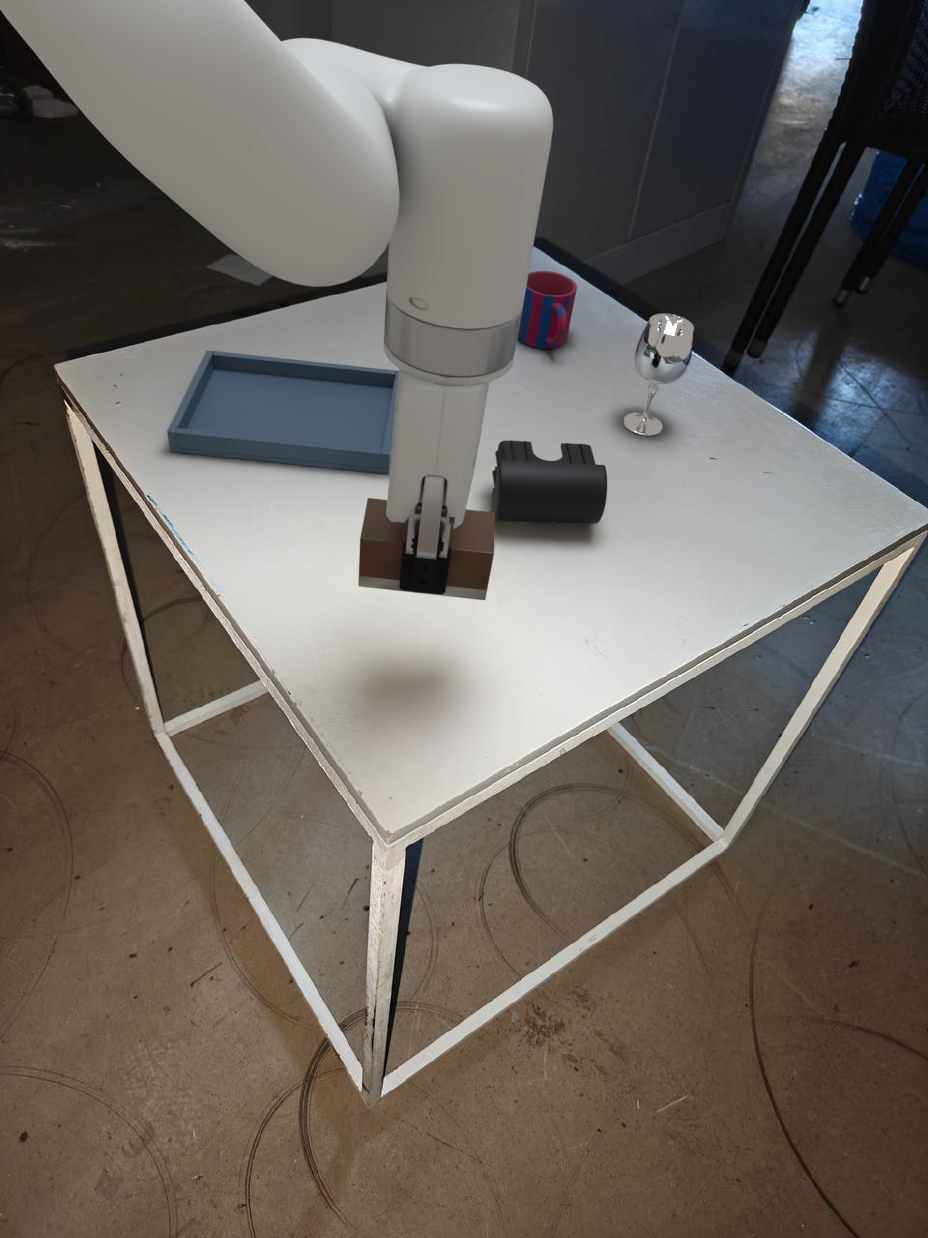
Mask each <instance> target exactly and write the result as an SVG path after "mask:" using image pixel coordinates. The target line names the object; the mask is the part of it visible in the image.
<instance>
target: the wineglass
mask: <svg viewBox="0 0 928 1238" xmlns="http://www.w3.org/2000/svg"><path fill="white" fill-rule="evenodd" d="M694 340H695V326H694V324H693V322H691V321H689V320H688V319H687V318H685V317H682V316H680V315H676V314H672V313H656V314H654V315H652V316H651V317H650V318H649V319H648V320H647V323H646V324H645V326H644V328H643V330H642V332H641V334H640V336H639V339H638V342H637V344H636V347H635V351H634V366H635V369H636V371H637V373H638V374H639V375H640V377H642V378H643V379H644V380H646V381H648V382H650V383H649V385H648V387H647V388H648V390H647V401H646V405H645V408H644V411H643V412H641V411H639V412H637V411H635V412H630V413H628V414H626V415H625V416H624V417H623V420H622V423H623V425H624V427H625V428H626V429H627V430H629V431H630V432H632V433H634V434H637V435H640V436H643V437H646V436H647V437H650V436H651V437H652V436H656V435H658V434H660V433H661V432H663V431H662V430H663V423H662V421H661V420H660V419H658V418H657V417H656V416H654V415H652V414H650V413H649V412H650V408H651V405H652V401H653V399H654V397H655V396H656V394H657V392H658V390H659V385H667V384H671V383H674V382H676V381H678V380H680V378H681V377H683V376H684V374H685V373H686V371H687V369H688V367H689V366H690V363H691V361H692V355H693V349H694V343H695V342H694Z"/></svg>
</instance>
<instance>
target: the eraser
mask: <svg viewBox="0 0 928 1238" xmlns="http://www.w3.org/2000/svg"><path fill="white" fill-rule="evenodd" d="M417 506H422V504H417ZM442 509H447V507H442ZM386 510H387V499H381V498H373V497H368V498H367V500H366V506H365V511H364V516H363V522H362V527H361V532H360V536H359V559H358V582H357V583H358V584H357V585H358V587H361V588H368V589H379V590H388V591H397V592H406V593H412V592H411V591H404V590H401V589H400V587H399V584H400V572H401V560H402V549H403V542H407V532H408V521H409V517H408V519H407V520H406V521H405V523H401V522H391V521H390V520H389V518H388V517H387V515H386ZM442 527H443V525H441V524H440V528H439V537H441V536H442ZM419 528H420V522H417V524H416V534H419ZM495 531H496V520H495V513H494V512H491V511H483V510H475V509H467V508H466V510H465V515H464V519H463V523H462V524H461V525H459V526H458V527H457V528H455V529H453V525H451V530H450V538H449V546H448V547H451V556H450V563H449V570H448V577H447V584H446V591H445V593H444V594H441V595H440V596H442V597H449V598H450V597H451V598H459V599H460V598H461V599H468V600H469V599H470V600H476V601H477V600H478V601H486V598H487V593H488V588H489V583H490V577H491V572H492V568H493V562H494V556H495V536H496V535H495V533H496V532H495ZM416 534H415V536H416ZM413 593H415V594H421V593H420V592H413ZM422 594H424V595H430V594H429V593H422ZM431 595H433V596H439V595H438V594H431Z"/></svg>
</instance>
